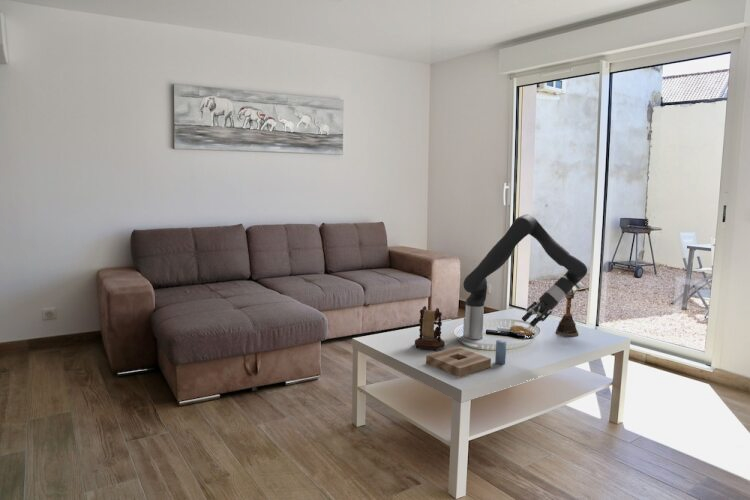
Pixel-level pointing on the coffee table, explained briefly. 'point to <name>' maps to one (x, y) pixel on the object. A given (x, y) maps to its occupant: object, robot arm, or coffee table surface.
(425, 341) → the scroll
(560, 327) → the bird statue
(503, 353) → the peg
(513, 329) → the decorative rock
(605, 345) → the coffee table surface
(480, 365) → the socket block
